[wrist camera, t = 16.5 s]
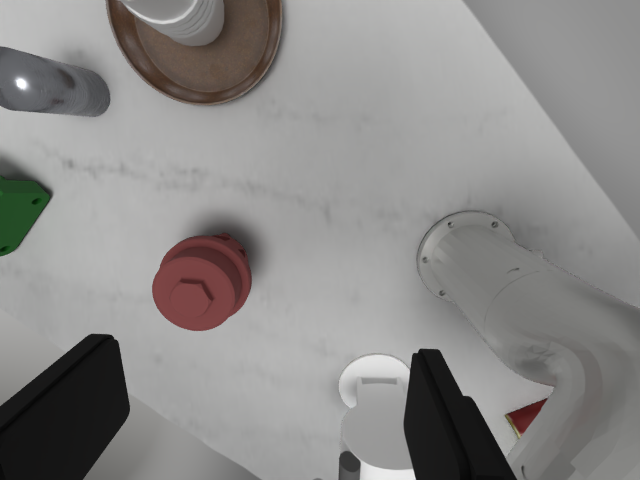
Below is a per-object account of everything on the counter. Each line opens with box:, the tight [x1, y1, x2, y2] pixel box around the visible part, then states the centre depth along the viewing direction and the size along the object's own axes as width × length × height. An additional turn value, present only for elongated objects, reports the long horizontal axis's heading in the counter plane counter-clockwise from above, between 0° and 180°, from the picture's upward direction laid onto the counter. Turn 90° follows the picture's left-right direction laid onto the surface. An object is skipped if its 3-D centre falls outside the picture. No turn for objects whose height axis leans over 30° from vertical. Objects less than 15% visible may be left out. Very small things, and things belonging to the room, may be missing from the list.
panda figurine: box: [339, 353, 416, 480], centre depth 43 cm, size 12×11×15 cm
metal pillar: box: [0, 47, 110, 117], centre depth 33 cm, size 5×5×10 cm
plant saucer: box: [106, 0, 282, 105], centre depth 34 cm, size 18×18×3 cm
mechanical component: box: [152, 233, 252, 331], centre depth 38 cm, size 12×10×10 cm
